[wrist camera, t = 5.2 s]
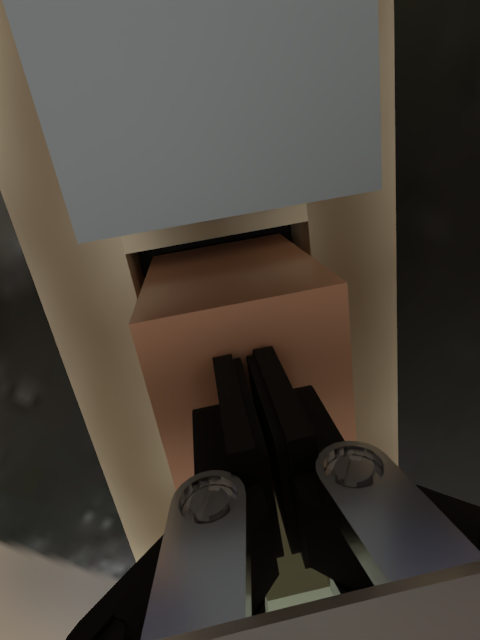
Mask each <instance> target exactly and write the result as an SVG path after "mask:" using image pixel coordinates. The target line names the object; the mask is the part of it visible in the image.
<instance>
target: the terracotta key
mask: <svg viewBox="0 0 480 640" xmlns="http://www.w3.org/2000/svg"><path fill="white" fill-rule="evenodd" d="M129 328H130V331H131V335H132V338H133V342H134V345H135V349H136V353H137V356H138V360H139V363H140V367H141V370H142V374H143V377H144V381H145V384H146V388H147V391H148V395H149V398H150V402H151V405H152V409H153V412H154V416H155V419H156V423H157V426H158V430H159V433H160V437H161V440H162V444H163V447H164V451H165V454H166V458H167V461H168V465H169V469H170V472H171V476H172V479H173V483H174V486H175V490H177V489H178V488H179V486H180V485H181V484H182V483H184V482H185V481H186V480H187V479H189V478H190V477H192V476H194V453H193V424H192V410H193V409H198V408H203V407H207V406H212V405H217V404H219V400H218V393H217V386H216V380H215V373H214V366H213V360H212V358H213V357H218V356H223V355H228V354H232V358H233V359H235V358H241V362H242V365H243V369H244V372H245V375H246V379H247V382H248V385H249V389H250V392H251V396H252V390H251V384H250V378H249V372H248V366H247V360H246V356H249V355H253V349H258V348H263V347H268V346H272V347H273V348H274V350H275V353H276V355H277V357H278V359H279V361H280V363H281V365H282V367H283V369H284V371H285V373H286V375H287V377H288V379H289V381H290V383H291V385H292V387H293V389H294V388H298V387H303V386H308V385H312V386H313V388H314V389H315V391H316V393H317V394H318V396H319V398H320V400H321V401H322V403H323V405H324V406H325V408H326V410H327V411H328V413H329V415H330V417H331V418H332V420H333V422H334V423H335V425H336V427H337V429H338V430H339V432H340V434H341V435H342V437H343V439H344V440H345V441H356V424H355V406H354V389H353V372H352V354H351V337H350V320H349V302H348V285H347V282H346V281H344V280H343V279H342V278H340V277H339V276H338V275H336V274H335V273H333V272H332V271H331V270H329V269H328V268H327V267H325V266H324V265H322V264H321V263H320V262H318V261H317V260H316V259H314V258H313V257H311V256H310V255H309V254H307V253H306V252H305V251H303V250H302V249H300V248H299V247H298V246H296V245H295V244H293V243H292V242H291V241H289V240H288V239H287V238H285V237H284V236H282V235H281V234H280V233H279V234H273V235H268V236H262V237H257V238H251V239H246V240H240V241H235V242H229V243H224V244H218V245H213V246H207V247H202V248H196V249H191V250H185V251H180V252H174V253H169V254H163V255H158V256H153V258H152V261H151V263H150V266H149V269H148V272H147V275H146V277H145V280H144V283H143V286H142V288H141V291H140V294H139V297H138V300H137V302H136V305H135V308H134V311H133V313H132V316H131V319H130V322H129ZM252 399H253V396H252Z"/></svg>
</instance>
